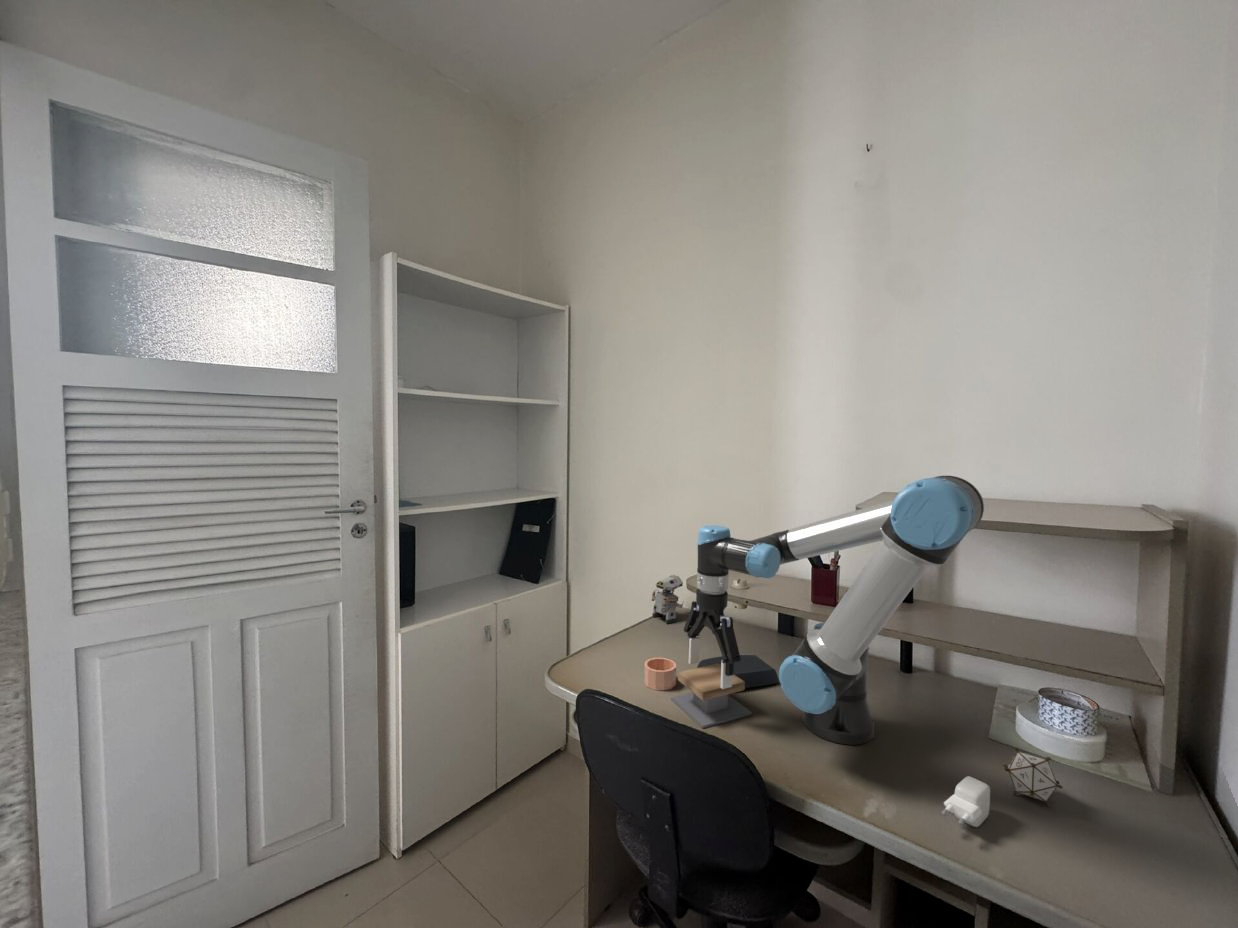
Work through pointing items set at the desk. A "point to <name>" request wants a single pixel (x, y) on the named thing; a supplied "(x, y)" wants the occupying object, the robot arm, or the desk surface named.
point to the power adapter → (969, 802)
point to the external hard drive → (748, 670)
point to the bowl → (660, 674)
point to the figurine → (667, 598)
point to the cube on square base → (710, 709)
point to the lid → (708, 682)
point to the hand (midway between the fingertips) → (709, 674)
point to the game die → (1032, 776)
